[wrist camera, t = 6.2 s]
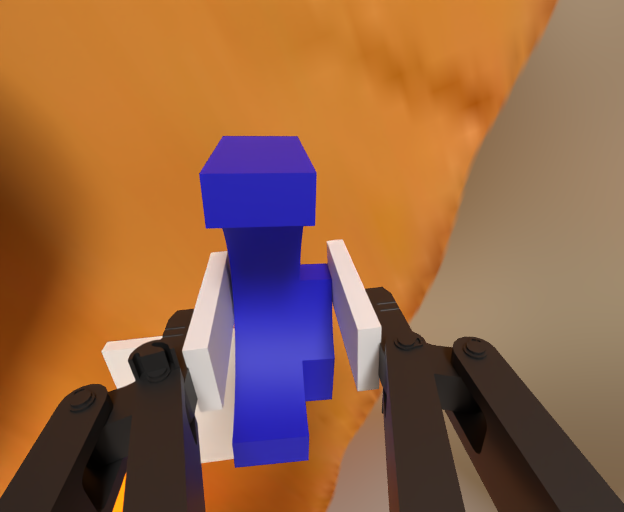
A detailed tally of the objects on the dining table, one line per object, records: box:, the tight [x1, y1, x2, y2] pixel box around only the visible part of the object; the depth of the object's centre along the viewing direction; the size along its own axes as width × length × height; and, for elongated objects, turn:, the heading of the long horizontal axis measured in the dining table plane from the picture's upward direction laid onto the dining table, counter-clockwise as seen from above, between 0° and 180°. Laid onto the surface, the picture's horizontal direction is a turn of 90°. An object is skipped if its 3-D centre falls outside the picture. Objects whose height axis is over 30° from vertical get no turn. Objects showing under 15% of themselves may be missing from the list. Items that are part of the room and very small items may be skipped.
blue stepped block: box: [199, 136, 335, 468], centre depth 15 cm, size 12×4×6 cm, turn 179°
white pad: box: [101, 328, 235, 463], centre depth 34 cm, size 16×16×1 cm
